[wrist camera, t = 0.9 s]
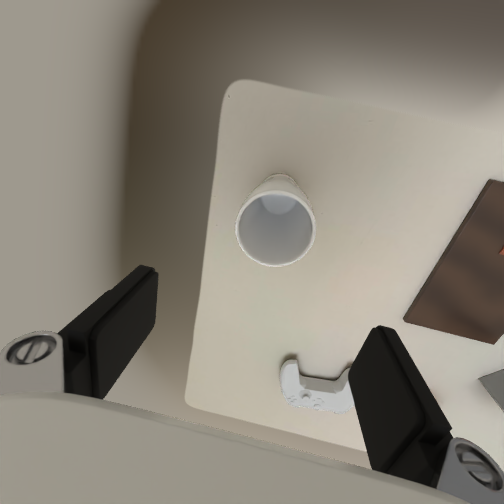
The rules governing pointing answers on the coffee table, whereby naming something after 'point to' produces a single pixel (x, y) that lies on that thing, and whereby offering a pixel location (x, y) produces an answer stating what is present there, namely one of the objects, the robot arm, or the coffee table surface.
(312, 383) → the game controller
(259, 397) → the coffee table surface
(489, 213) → the corner board
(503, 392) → the perfume bottle
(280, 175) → the drinking glass
